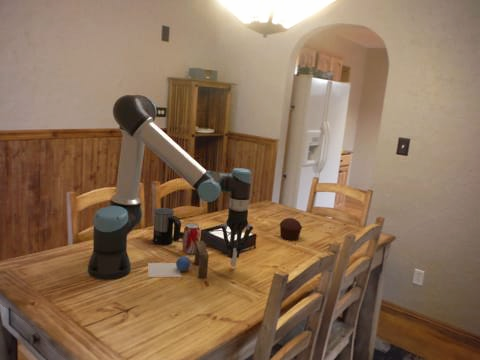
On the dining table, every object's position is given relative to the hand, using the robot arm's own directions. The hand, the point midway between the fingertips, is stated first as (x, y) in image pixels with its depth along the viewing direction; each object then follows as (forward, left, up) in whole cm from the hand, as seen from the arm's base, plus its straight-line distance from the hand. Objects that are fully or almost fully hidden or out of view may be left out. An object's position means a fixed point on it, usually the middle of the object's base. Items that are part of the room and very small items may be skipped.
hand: (233, 265), depth 159 cm
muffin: (+37, +36, -2) cm, 52 cm away
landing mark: (-27, 0, -2) cm, 27 cm away
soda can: (-15, +18, -2) cm, 24 cm away
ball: (-20, 0, +1) cm, 20 cm away
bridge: (-13, 0, -2) cm, 13 cm away
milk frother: (-23, +31, -2) cm, 39 cm away
